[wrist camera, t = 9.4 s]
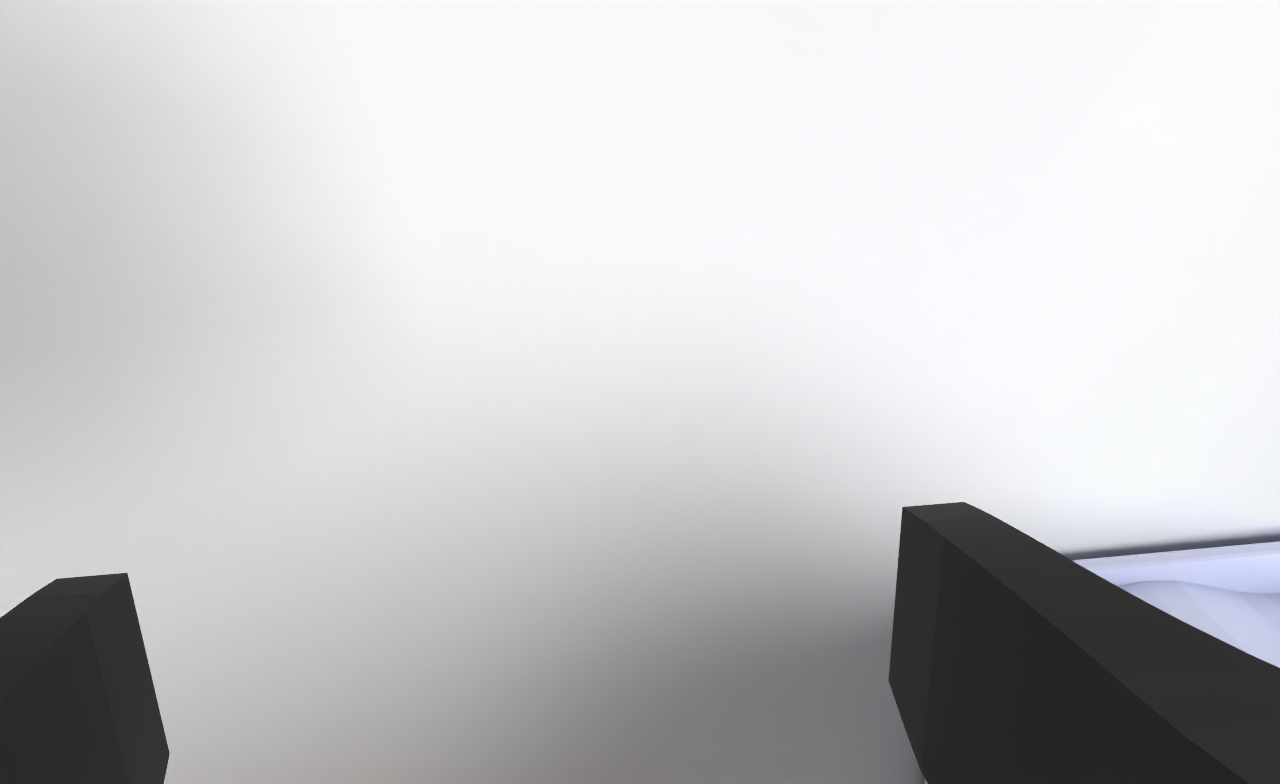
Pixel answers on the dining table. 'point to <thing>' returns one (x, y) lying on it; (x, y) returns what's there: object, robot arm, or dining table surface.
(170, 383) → the dining table surface
